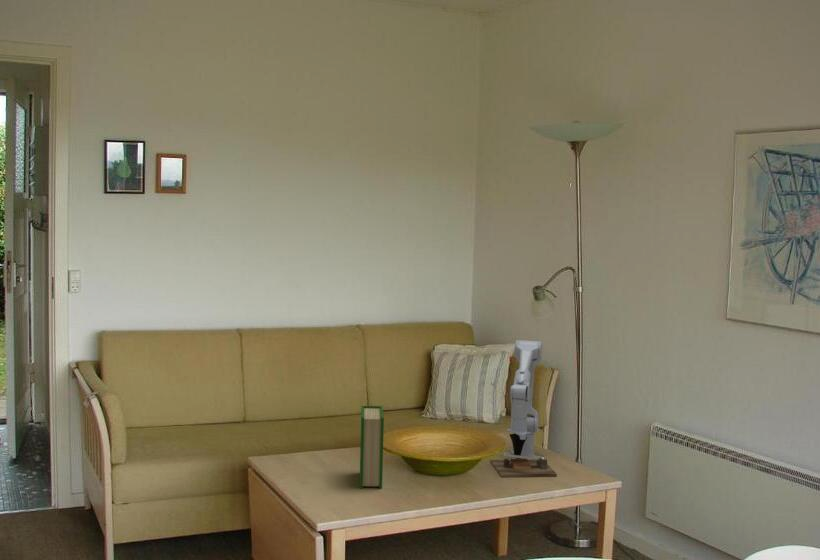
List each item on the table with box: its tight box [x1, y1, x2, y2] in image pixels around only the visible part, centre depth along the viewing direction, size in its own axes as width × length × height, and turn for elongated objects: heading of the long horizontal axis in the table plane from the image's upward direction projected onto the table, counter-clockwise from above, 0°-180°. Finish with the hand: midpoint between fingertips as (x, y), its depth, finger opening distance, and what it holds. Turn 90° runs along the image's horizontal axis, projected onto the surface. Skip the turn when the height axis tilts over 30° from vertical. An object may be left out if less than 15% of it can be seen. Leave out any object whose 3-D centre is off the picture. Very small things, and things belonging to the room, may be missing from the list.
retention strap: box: [503, 451, 545, 460], centre depth 324 cm, size 4×15×1 cm, turn 97°
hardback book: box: [359, 405, 385, 490], centre depth 306 cm, size 18×7×24 cm, turn 3°
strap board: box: [489, 454, 557, 478], centre depth 324 cm, size 18×20×4 cm
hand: (517, 454), depth 323 cm, fingers closed, pressing on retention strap
